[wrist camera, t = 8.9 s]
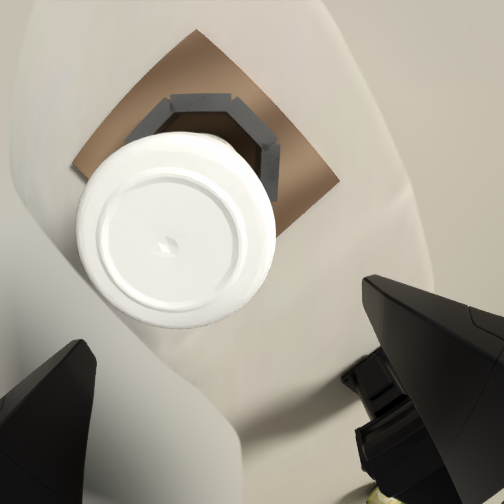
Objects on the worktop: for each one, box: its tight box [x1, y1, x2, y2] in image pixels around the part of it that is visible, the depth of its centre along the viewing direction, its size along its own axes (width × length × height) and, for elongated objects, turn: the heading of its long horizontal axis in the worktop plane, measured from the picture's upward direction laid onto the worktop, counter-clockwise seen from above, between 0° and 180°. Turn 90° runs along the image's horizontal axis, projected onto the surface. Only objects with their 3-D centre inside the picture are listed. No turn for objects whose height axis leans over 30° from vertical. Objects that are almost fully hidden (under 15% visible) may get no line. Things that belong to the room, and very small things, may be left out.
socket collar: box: [122, 93, 281, 209], centre depth 17 cm, size 9×9×3 cm
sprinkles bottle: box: [75, 132, 276, 329], centre depth 12 cm, size 5×5×13 cm
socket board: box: [72, 29, 340, 237], centre depth 18 cm, size 14×12×1 cm
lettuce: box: [366, 486, 404, 504], centre depth 45 cm, size 12×21×11 cm, turn 23°
